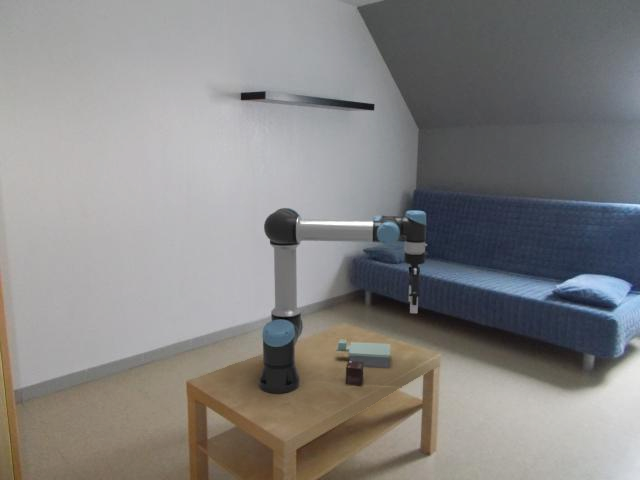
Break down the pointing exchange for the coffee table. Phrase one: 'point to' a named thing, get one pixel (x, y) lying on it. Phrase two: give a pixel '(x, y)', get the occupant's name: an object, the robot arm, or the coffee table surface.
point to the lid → (364, 349)
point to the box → (354, 373)
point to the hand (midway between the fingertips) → (412, 307)
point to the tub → (371, 361)
